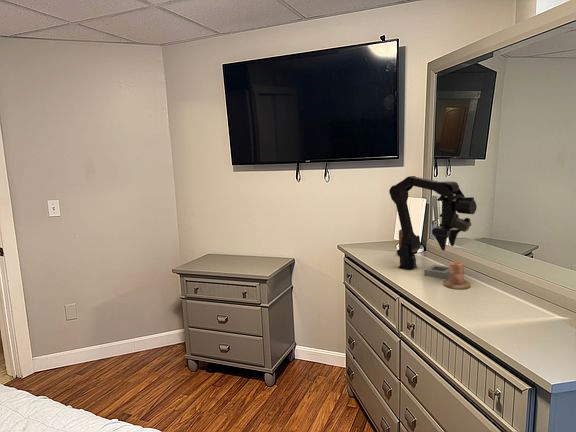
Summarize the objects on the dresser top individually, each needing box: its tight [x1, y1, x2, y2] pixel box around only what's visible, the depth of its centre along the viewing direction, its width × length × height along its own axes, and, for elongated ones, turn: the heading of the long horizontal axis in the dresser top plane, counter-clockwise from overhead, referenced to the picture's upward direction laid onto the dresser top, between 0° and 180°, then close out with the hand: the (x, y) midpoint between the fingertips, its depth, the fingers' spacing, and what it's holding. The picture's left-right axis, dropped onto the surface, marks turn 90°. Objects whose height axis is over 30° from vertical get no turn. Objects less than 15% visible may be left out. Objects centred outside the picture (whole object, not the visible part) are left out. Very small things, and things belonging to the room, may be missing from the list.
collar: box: [423, 264, 450, 280], centre depth 169 cm, size 10×10×2 cm
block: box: [449, 261, 465, 285], centre depth 154 cm, size 4×4×8 cm
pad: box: [442, 278, 471, 291], centre depth 155 cm, size 10×10×1 cm
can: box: [398, 229, 403, 250], centre depth 200 cm, size 6×6×14 cm
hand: (447, 248), depth 164 cm, fingers open, 9 cm apart
